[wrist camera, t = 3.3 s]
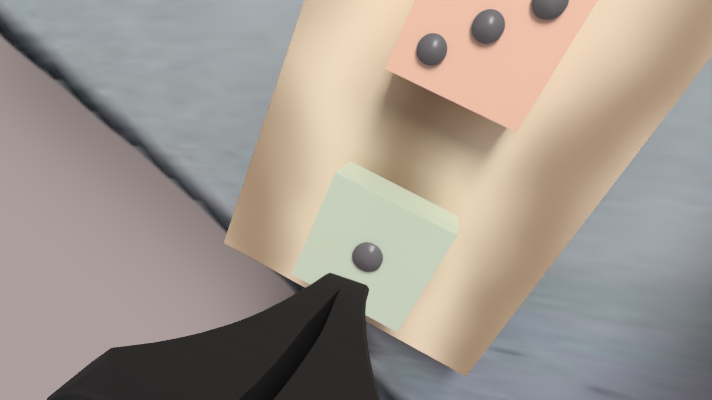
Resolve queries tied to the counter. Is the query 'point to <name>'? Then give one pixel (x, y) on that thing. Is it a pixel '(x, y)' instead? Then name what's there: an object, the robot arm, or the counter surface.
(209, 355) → the robot arm
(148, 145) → the counter surface
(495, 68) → the tile three
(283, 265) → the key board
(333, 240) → the tile one
